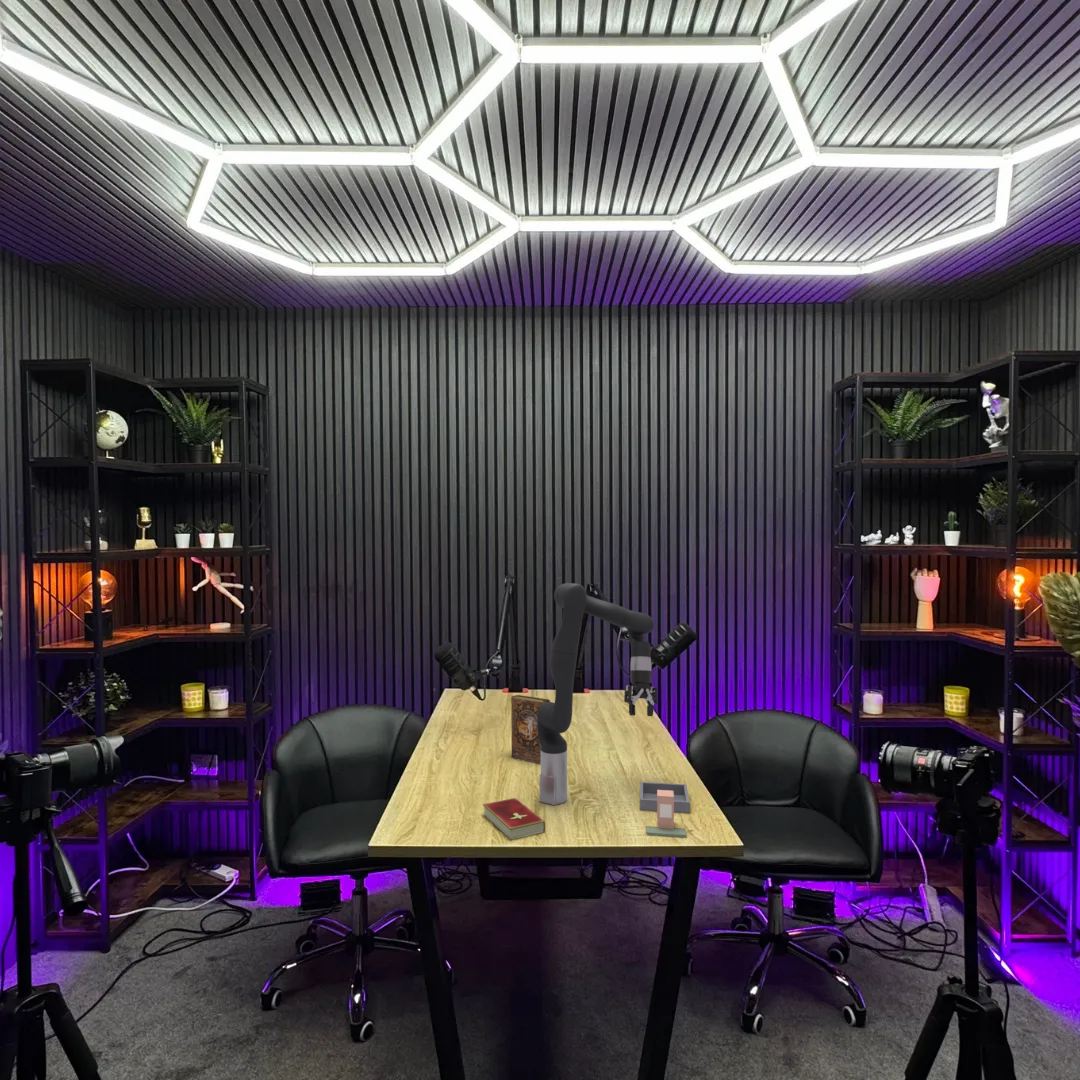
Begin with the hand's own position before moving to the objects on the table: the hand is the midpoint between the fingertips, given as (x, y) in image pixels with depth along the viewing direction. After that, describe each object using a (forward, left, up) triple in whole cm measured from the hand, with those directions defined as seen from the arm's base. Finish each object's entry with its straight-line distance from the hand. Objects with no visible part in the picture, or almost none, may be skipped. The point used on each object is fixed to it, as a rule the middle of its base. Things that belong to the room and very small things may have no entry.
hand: (641, 715), depth 240 cm
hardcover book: (-47, +23, -27) cm, 59 cm away
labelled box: (-24, -19, -26) cm, 40 cm away
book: (+6, +52, -27) cm, 59 cm away
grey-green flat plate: (-24, -19, -27) cm, 41 cm away
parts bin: (-8, -12, -27) cm, 30 cm away
